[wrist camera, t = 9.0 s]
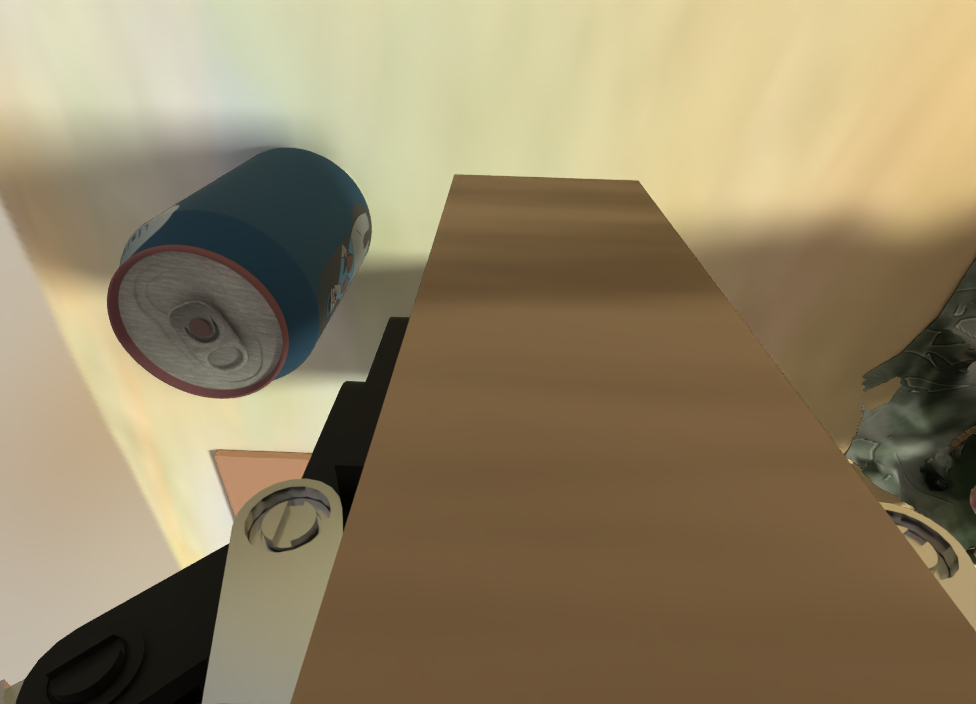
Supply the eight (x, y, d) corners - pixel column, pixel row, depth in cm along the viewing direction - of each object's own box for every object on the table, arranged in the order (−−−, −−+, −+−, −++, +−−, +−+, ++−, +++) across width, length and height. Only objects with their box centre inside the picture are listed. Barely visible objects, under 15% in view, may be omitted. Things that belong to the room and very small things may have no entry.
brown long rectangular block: (454, 174, 15) (130, 1219, 2) (638, 180, 15) (1474, 1294, 2) (455, 332, 17) (320, 1197, 5) (610, 337, 17) (889, 1230, 5)
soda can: (213, 174, 27) (36, 276, 17) (331, 117, 25) (215, 192, 15) (291, 291, 30) (183, 434, 20) (400, 247, 29) (343, 379, 19)
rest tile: (218, 449, 37) (214, 455, 36) (391, 456, 37) (390, 462, 36) (254, 559, 44) (252, 565, 43) (402, 565, 43) (401, 572, 43)
